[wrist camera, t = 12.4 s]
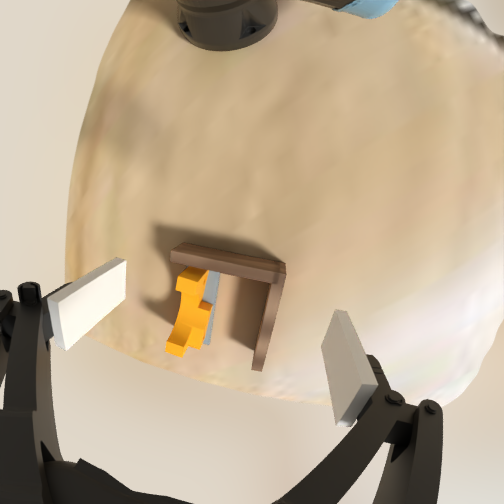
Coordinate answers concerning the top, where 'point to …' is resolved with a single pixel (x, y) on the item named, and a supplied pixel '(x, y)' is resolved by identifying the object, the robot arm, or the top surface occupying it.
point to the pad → (210, 299)
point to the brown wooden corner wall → (245, 269)
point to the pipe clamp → (190, 312)
